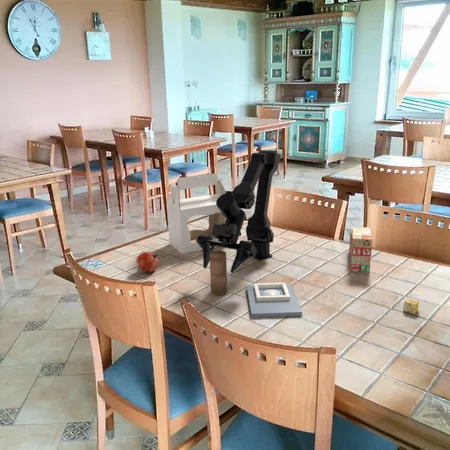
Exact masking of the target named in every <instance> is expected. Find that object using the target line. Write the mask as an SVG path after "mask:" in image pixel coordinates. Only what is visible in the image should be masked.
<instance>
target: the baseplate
mask: <svg viewBox="0 0 450 450" xmlns="http://www.w3.org/2000/svg"><path fill="white" fill-rule="evenodd" d="M246 291H247V292H246V293H247V297H248V298H247V299H248V305H249V311H250V312H249V313H250V317H251V318H274V317H275V318H276V317H283V318H284V317H302V316H303V311H302V308H301V306H300V302H299V299H298V297H297V294H296V292H295V289H294V288H293V284H292V283H290V284H288V283H287V284H286V282H263V283H253V285H246Z"/></svg>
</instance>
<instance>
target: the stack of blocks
mask: <svg viewBox="0 0 450 450" xmlns="http://www.w3.org/2000/svg"><path fill="white" fill-rule="evenodd" d="M349 229H350V230H349V248H348V249H349V250H350V251H348V253H349V263H350V264H349V265H350V266H349V267H350V268H349V269H350V270H349V271H350V273H362V272H369V273H370V270H371V260H372V259H371V258H372V257H371V256H372V248H373V237H372V232H371V229H370V227H366V226H365V227H364V226H363V227H362V226H361V227H360V226H359V227H358V226H351V227H349Z"/></svg>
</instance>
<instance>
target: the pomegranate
mask: <svg viewBox="0 0 450 450" xmlns="http://www.w3.org/2000/svg"><path fill="white" fill-rule="evenodd" d="M159 256H160V255H158V254H157V253H156V254H154V253H152V252H151V251H150V252H149V251H143V252H142V253H139V255H137V258H136V263H137V265H138V269H137V270H136V271H137V272H138V271H139V270H141V271H142V272H144V273H145V274H150V273H153V272H154V271H155V270H156V269H157V268H158V267H159V259H158V258H157V257H159Z"/></svg>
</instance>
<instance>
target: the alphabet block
mask: <svg viewBox="0 0 450 450" xmlns="http://www.w3.org/2000/svg"><path fill="white" fill-rule="evenodd" d="M419 304H420V301H419V300H416V299H412V298H406V299H405V300H404V301H403V312H406V313H410V314H413V315H415V314H416V313H417V312H418V310H419Z"/></svg>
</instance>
